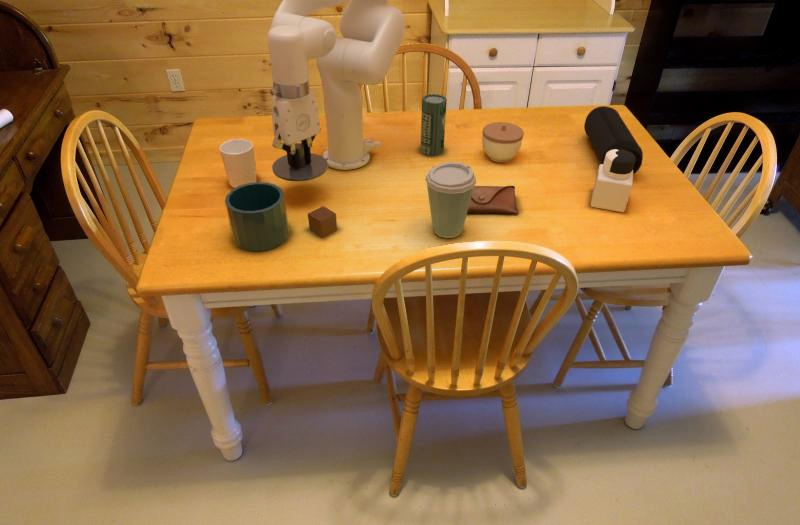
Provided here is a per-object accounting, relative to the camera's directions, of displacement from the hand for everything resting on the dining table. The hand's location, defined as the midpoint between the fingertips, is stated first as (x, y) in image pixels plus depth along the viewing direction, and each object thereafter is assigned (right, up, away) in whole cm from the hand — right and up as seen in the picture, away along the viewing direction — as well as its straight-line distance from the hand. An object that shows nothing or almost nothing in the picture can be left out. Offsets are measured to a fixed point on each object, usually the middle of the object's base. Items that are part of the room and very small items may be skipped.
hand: (300, 163), depth 131 cm
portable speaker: (+80, +5, +22) cm, 83 cm away
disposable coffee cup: (+34, -16, -5) cm, 38 cm away
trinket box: (+51, +5, +21) cm, 55 cm away
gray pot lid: (0, -1, +1) cm, 1 cm away
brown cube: (+6, -16, -6) cm, 18 cm away
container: (+74, -9, +4) cm, 74 cm away
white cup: (-16, -3, +10) cm, 19 cm away
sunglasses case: (+43, -10, +2) cm, 44 cm away
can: (+32, +8, +24) cm, 41 cm away
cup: (-7, -17, -8) cm, 20 cm away
